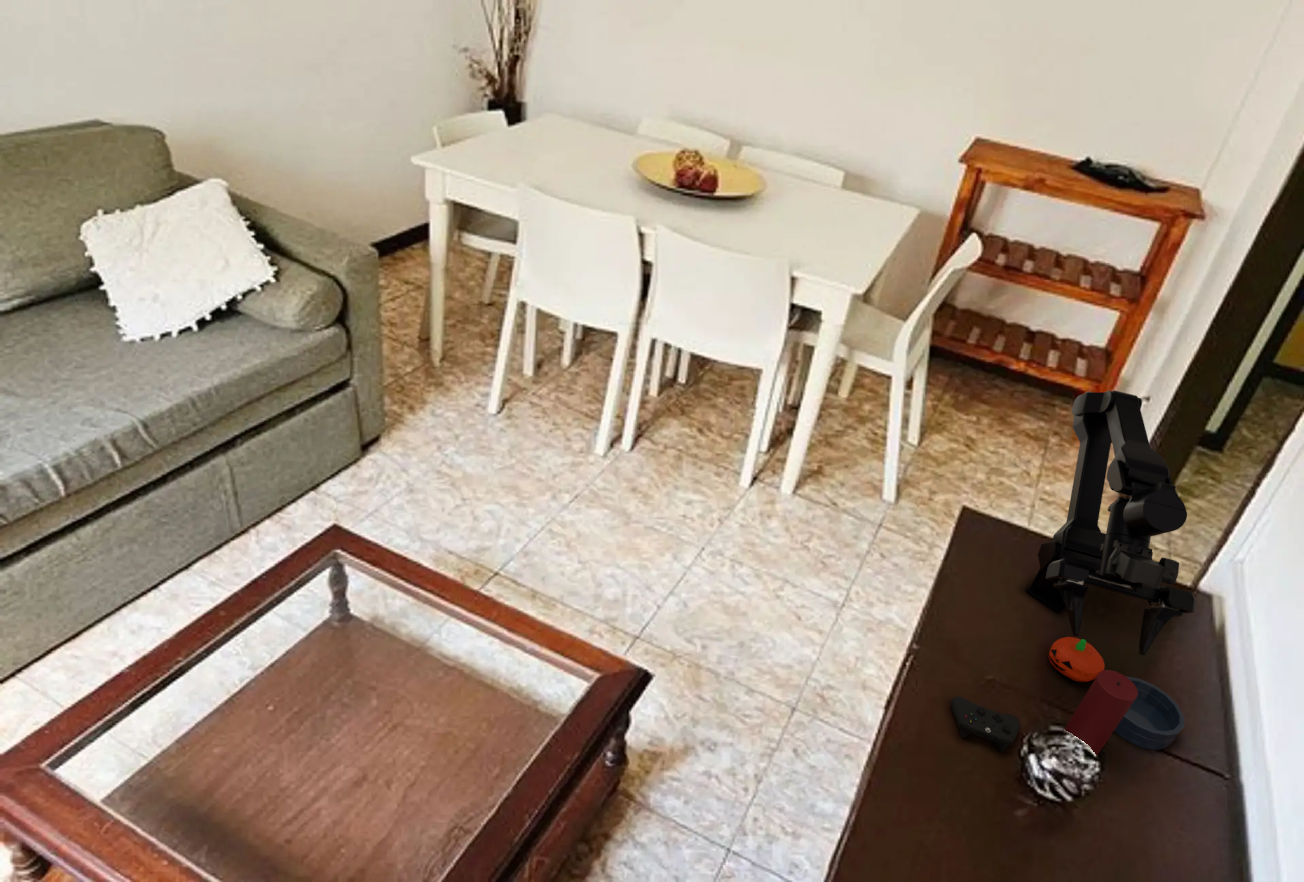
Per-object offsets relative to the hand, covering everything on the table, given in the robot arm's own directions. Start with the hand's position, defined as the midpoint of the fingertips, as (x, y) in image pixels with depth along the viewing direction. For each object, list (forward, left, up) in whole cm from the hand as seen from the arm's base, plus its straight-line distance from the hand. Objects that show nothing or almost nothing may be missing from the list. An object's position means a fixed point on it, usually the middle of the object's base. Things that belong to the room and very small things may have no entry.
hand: (1108, 645), depth 124 cm
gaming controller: (-6, -16, -13) cm, 22 cm away
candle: (+4, -6, -13) cm, 15 cm away
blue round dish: (+7, +6, -13) cm, 16 cm away
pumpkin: (-4, +7, -13) cm, 16 cm away
